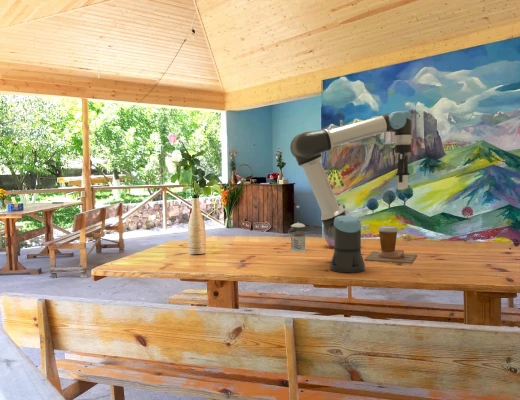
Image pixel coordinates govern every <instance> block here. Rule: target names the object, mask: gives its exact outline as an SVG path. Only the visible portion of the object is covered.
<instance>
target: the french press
mask: <svg viewBox="0 0 520 400" xmlns="http://www.w3.org/2000/svg"><path fill="white" fill-rule="evenodd" d="M296 209H300V205H296ZM305 227H306V225H305V224H304V223H301V222H296V223H293V224H291V225H290V228H289V229H288V231H287V233H290V232H291V231H294V230H295V228H297V229H299V228H305ZM291 234H292V235H291ZM291 234H287V237H288V239H289V240H290V243H291V244H290V245H291V246H290V247H291V248H290V249H289V251H290V252H293V253H304V252H307V251H308V249H307V248H306V235H305V232H303V231H301V232H300V231H295V232H291Z"/></svg>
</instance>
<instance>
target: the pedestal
mask: <svg viewBox="0 0 520 400" xmlns="http://www.w3.org/2000/svg"><path fill="white" fill-rule="evenodd" d="M417 256H418V254H417V253H409V252H404V249H400V248H395V251H394V252H383V251H381V248H379V249H378V251H377V250H376V251H375V250H374V251H371V252H370V253H369V254H368V255H367V256H366V257H365V258H363V261H364V262H373V261H377V262H376V263H387V262H392V264H402V263H411V264H410V265H412V264H413V263H414V261H415V260H416V258H417ZM415 257H416V258H415ZM414 259H415V260H414ZM378 261H379V262H378ZM394 262H395V263H394ZM412 262H413V263H412Z"/></svg>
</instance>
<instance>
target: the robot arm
mask: <svg viewBox="0 0 520 400" xmlns="http://www.w3.org/2000/svg"><path fill="white" fill-rule="evenodd" d="M412 119H413V118H412V112H411V111H408V110H402V111H398V110H397V111H392V112H389V113H386V114H383V115H374V116H371V117H370V118H368V119H364V120H361V121H358V122H353V123H350V124H346V125H342V126H338V127H335V128H332V129H327V128H324V129H319V130H312V131H311V130H309V131H305V132H301V133H299V134H296V135H295V136H294V137H293V139H292V140H291V141H290V145H289V147H290V148H289V150H290V153H291V154H292V156H293V157H294V158H295V159H296V163H297V164H298V165H297V166H298V167H300V168H302V169H303V171H304V173H305V175H306V179H308V183H309V185H310V187H311V190H312V193H313V195H314V197H315V200H316V202H317V205H318V206H319V209H320V211H321V214H322V215H321V218H320V220H321V222H322V225H323V226H322V229H323V228H324V232H325V234H326V235H327V237H329V238H330V239H332V240H334V248H333V255H332V256H331V257H332V258H331V261H330V264H329V265H330V270H331V271H332V272H333V271H334V272H338V273H345V272H354V273H361V272H364V271H365V270H366V264H365V261H364V258H363V254H362V252H361V251H362V250H361V249H362V248H361V247H362V246H361V245H362V240H361V239H362V223H361V222H362V221H361V219H360V218H359V217H357V216H353V215H347V214H346V212H345V209H344V208H342V207H340V205H339V203H338V201H337V198H336V196H335V194H334V191H333V188H332V186H331V184H330V181H329V179H328V176H327V174H326V172H325V169H324V166H323V165H322V164H323V163H322V162H321V160H322V157H323V156H322V154H323V153H325V152H328V151H331V150H332V149H333V147H337V146H342V145H344V144H348V143H352V142H355V141H358V140H362V139H365V138H366V139H367V138H369V137H374V136H376V135H380V134H383V133H394V144H395V146H394V153H395V154H397V156H398V157H397V159H398V162H397V172H396V173H395V174H396V176H397V190H398V191H399V190H400V191H402V190H405V189H409V187H408V186H409V185H408V181H409V176H410V172H409V163H408V162H409V159H408V154H409V153H411V152H412V145H411V144H412V139H414V138H413V136H412V122H413V120H412ZM407 153H408V154H407ZM324 232H323V233H324Z"/></svg>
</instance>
